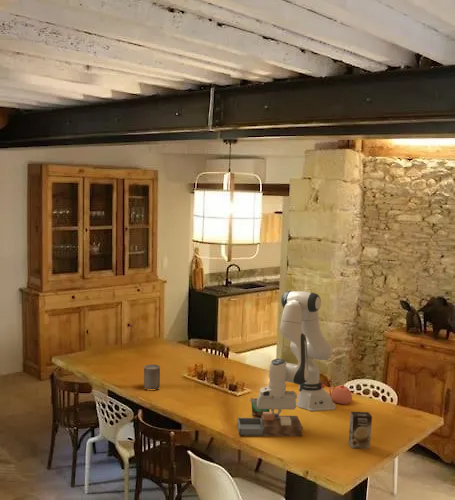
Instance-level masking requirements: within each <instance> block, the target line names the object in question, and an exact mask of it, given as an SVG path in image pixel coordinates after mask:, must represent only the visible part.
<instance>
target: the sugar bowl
mask: <svg viewBox="0 0 455 500" xmlns="http://www.w3.org/2000/svg"><path fill="white" fill-rule="evenodd" d="M328 390H329V392H328V393H329V394H330V396H331V399H332V402H333V403H334V404H343V405H347V404H349V403H351V402H352V400H353V396H352V395H353V394H352V393H351V391H350V388H348V387H347V386H345V384H340V385H338V386H337V385H336V386H335V387H334V386H332V387H329V389H328ZM331 391H332V392H331Z"/></svg>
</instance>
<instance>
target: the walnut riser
mask: <svg viewBox="0 0 455 500" xmlns="http://www.w3.org/2000/svg"><path fill="white" fill-rule="evenodd" d="M280 417H290V419H291V425H281V424H280ZM261 419H262V422H263V425H264V429H265V432H264V436H263V437H303V424H302V423H301V420H300V418H299V416H298V415H279V417H274V420H264V419H263V415H261Z"/></svg>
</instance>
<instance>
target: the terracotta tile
mask: <svg viewBox="0 0 455 500" xmlns="http://www.w3.org/2000/svg"><path fill="white" fill-rule="evenodd" d="M263 419H264V420H274V415H273V413H272V411H269V412H263Z"/></svg>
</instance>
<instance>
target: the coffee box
mask: <svg viewBox="0 0 455 500" xmlns="http://www.w3.org/2000/svg"><path fill="white" fill-rule="evenodd" d="M372 421H373V416H372V415H371V413H370V412H369V411H351V410H350V417H349V431H348V432H349V433H348V445H349V447H350V448H352V449H370V448H371V437H372V436H371V435H372V423H373V422H372Z"/></svg>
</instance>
